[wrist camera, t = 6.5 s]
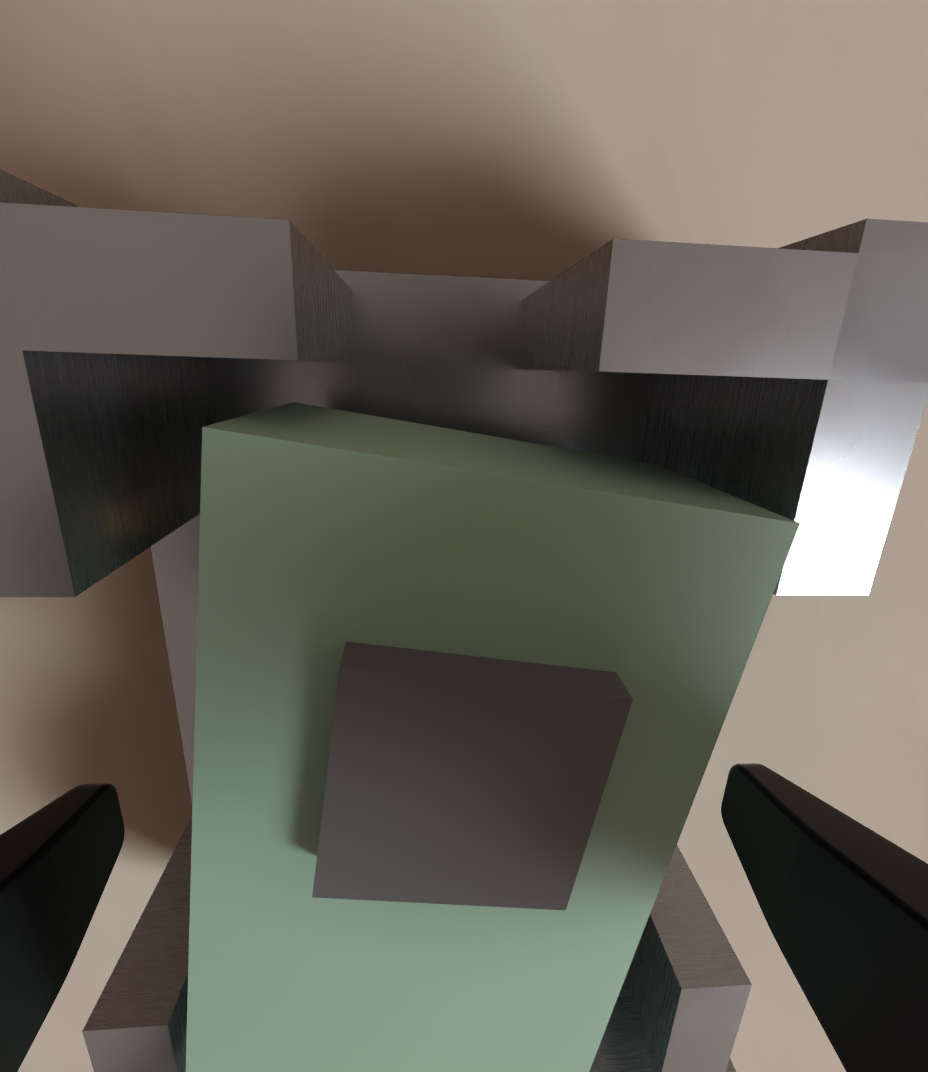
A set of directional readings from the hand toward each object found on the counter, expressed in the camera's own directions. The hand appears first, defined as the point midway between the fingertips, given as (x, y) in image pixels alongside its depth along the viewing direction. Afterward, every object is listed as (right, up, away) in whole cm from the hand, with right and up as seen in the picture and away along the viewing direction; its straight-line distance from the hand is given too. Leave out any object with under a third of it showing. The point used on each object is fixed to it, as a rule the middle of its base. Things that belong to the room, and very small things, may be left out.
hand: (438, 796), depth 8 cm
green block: (0, +1, +2) cm, 2 cm away
